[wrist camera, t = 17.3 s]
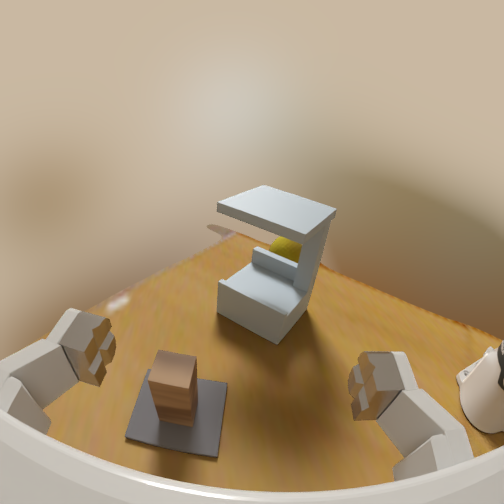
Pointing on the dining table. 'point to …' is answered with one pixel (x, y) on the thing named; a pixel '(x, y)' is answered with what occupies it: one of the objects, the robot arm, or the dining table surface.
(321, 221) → the grey cantilever stand
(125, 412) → the dining table surface
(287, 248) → the lemon
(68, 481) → the robot arm
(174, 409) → the walnut block
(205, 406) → the felt mat
